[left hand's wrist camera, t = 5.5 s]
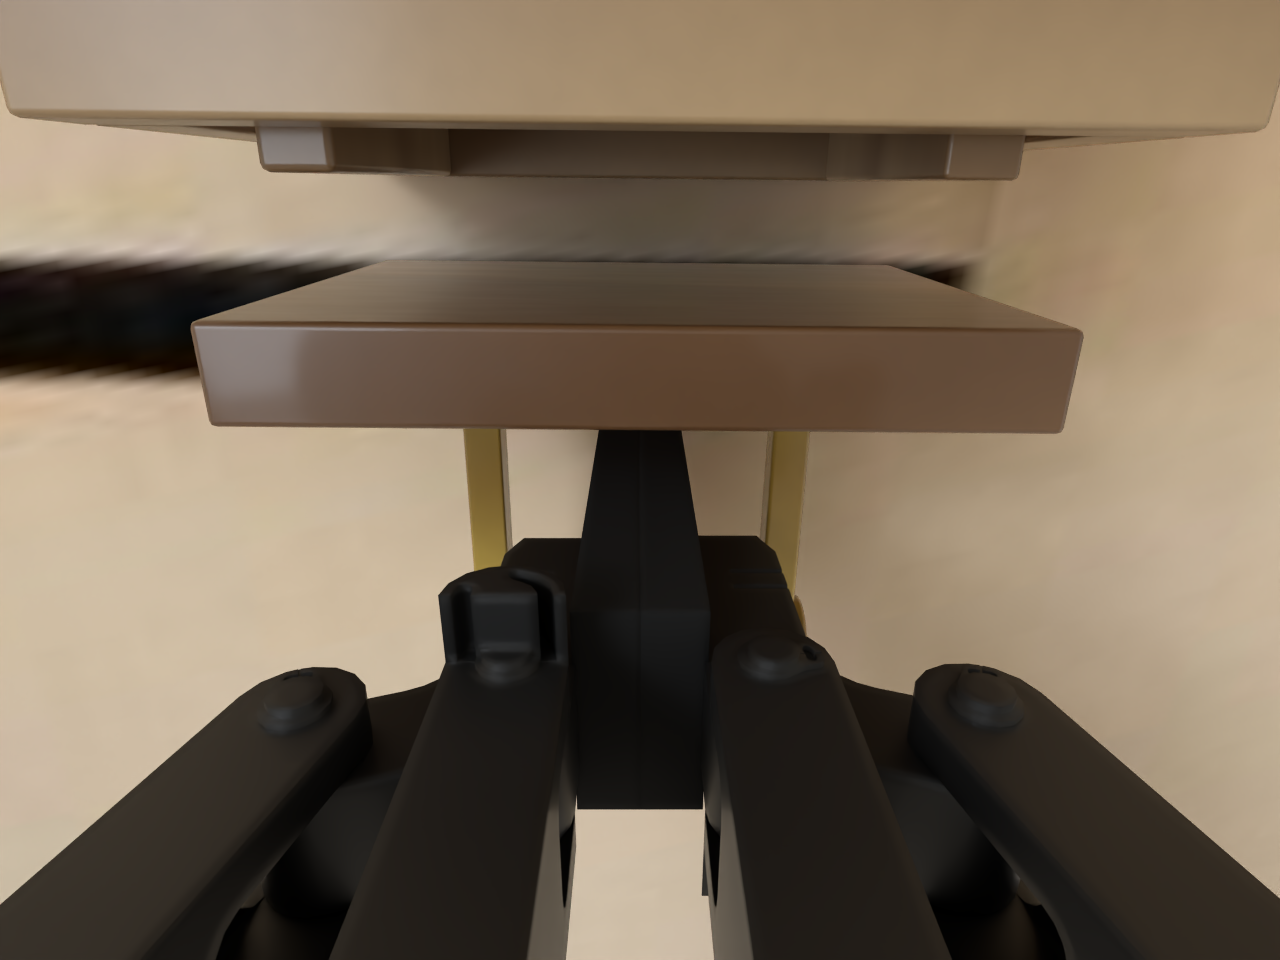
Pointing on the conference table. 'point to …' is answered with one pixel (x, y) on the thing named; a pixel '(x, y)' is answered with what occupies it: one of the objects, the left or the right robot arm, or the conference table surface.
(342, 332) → the drawer
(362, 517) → the conference table surface
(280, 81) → the cabinet
